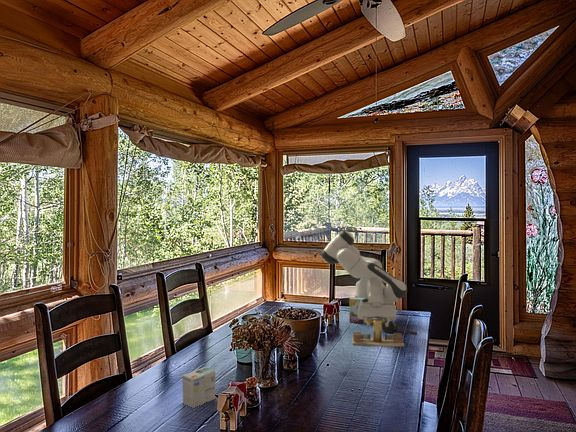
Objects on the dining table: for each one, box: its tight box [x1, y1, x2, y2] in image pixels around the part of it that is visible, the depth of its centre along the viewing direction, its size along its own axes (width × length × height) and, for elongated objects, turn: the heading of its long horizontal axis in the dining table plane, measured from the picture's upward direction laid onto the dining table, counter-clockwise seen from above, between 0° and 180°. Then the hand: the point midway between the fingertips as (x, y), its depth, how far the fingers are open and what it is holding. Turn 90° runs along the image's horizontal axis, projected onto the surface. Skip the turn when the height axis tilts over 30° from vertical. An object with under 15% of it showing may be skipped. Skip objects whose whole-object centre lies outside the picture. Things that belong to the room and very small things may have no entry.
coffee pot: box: [382, 320, 418, 336], centre depth 243 cm, size 8×18×8 cm
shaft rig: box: [351, 331, 405, 347], centre depth 226 cm, size 10×26×5 cm, turn 83°
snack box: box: [348, 296, 386, 325], centre depth 265 cm, size 21×6×15 cm, turn 73°
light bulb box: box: [181, 366, 217, 409], centre depth 159 cm, size 11×7×11 cm, turn 141°
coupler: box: [372, 317, 383, 342], centre depth 226 cm, size 5×5×12 cm
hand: (377, 326), depth 225 cm, fingers open, 8 cm apart
